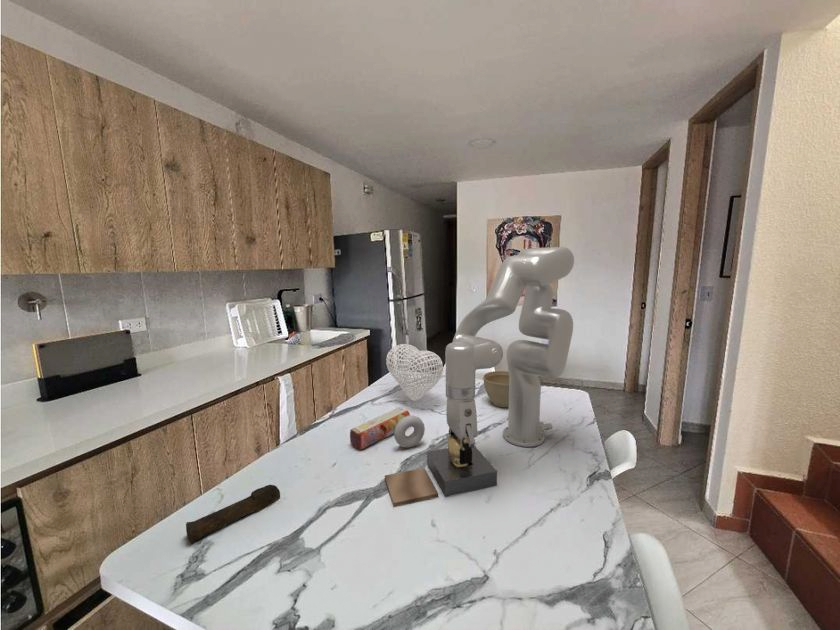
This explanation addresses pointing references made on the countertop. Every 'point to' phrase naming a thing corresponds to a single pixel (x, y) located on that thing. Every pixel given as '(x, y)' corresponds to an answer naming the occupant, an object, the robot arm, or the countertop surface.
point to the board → (410, 487)
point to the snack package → (376, 428)
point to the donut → (403, 426)
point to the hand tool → (232, 512)
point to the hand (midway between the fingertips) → (460, 455)
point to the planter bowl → (497, 387)
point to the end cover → (455, 450)
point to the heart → (414, 352)
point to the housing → (461, 473)
